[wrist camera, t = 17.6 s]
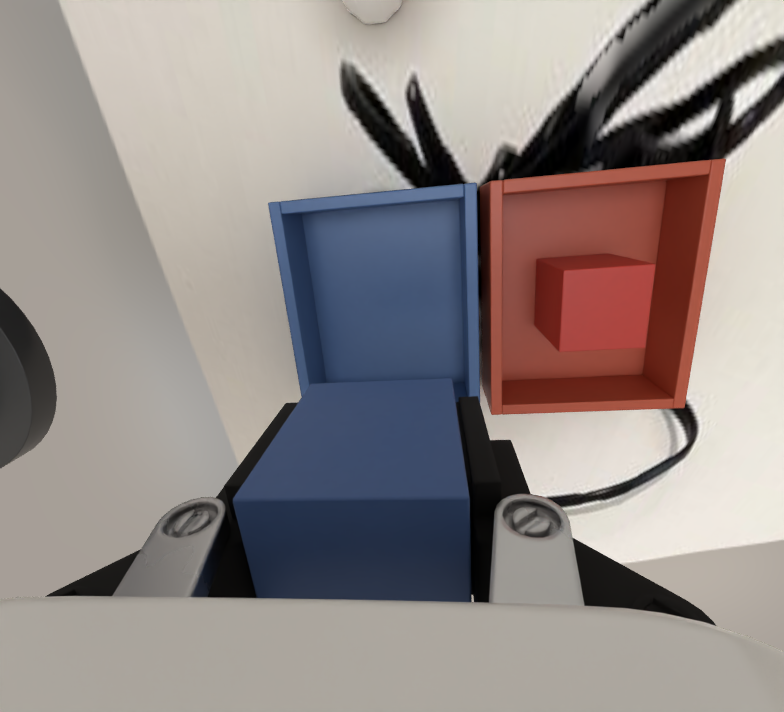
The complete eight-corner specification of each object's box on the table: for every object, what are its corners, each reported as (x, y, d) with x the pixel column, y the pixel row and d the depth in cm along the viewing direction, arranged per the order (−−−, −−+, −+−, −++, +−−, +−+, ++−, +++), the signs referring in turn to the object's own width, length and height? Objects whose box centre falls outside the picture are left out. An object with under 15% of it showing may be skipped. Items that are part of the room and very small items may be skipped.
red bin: (482, 386, 27) (491, 415, 23) (479, 186, 23) (490, 181, 19) (646, 378, 26) (685, 408, 22) (673, 167, 22) (727, 158, 18)
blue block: (328, 498, 13) (271, 663, 8) (310, 382, 12) (230, 499, 7) (456, 497, 12) (472, 669, 8) (451, 377, 11) (469, 497, 6)
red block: (534, 325, 24) (559, 352, 20) (536, 258, 23) (563, 270, 18) (603, 321, 24) (645, 348, 19) (609, 252, 23) (656, 263, 18)
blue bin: (322, 392, 28) (305, 421, 24) (293, 204, 24) (267, 202, 20) (472, 386, 27) (480, 415, 23) (468, 187, 23) (476, 182, 19)
